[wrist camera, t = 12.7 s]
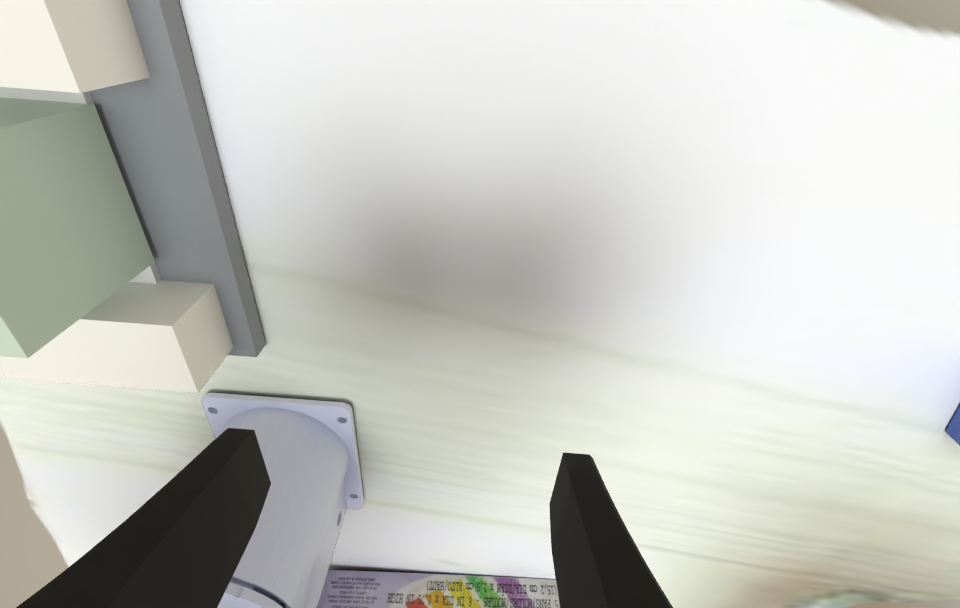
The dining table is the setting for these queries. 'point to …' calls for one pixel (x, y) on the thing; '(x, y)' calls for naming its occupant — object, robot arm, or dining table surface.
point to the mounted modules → (136, 306)
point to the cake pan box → (434, 591)
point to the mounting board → (173, 169)
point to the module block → (60, 221)
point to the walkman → (955, 427)
